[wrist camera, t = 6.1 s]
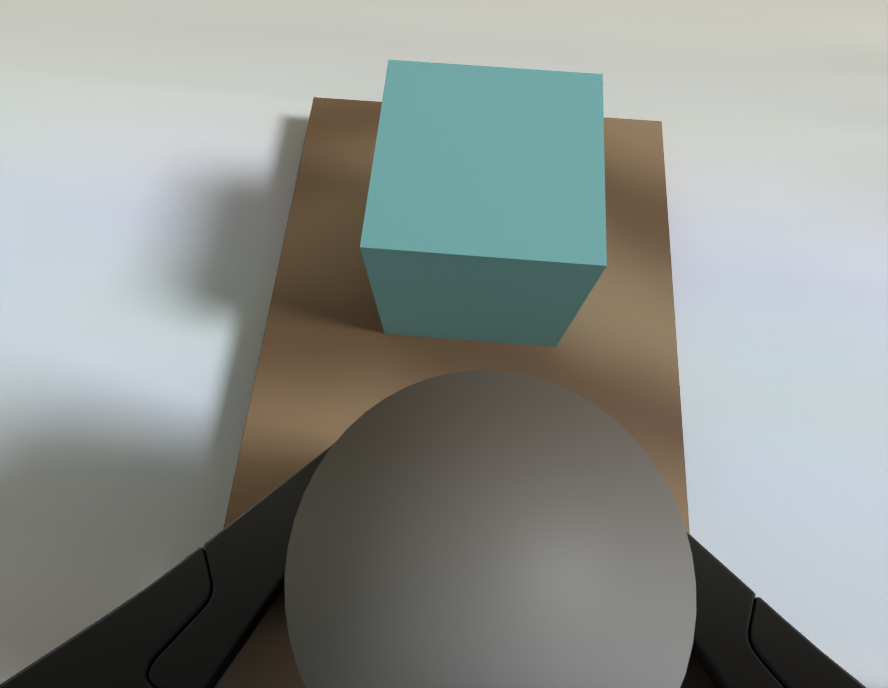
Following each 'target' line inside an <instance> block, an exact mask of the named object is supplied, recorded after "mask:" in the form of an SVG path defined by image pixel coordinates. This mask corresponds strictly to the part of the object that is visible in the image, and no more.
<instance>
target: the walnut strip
mask: <svg viewBox="0 0 888 688" xmlns="http://www.w3.org/2000/svg"><path fill="white" fill-rule="evenodd" d="M381 106H382V102H373V101H359V100H344V99H330V98H316V97H314V99H313V104H312V109H311V113H310V118H309V123H308V128H307V132H306V137H305V142H304V147H303V152H302V156H301V161H300V166H299V171H298V175H297V180H296V185H295V190H294V195H293V199H292V204H291V209H290V214H289V218H288V223H287V228H286V233H285V238H284V242H283V247H282V252H281V257H280V262H279V266H278V271H277V276H276V281H275V285H274V290H273V295H272V300H271V305H270V309H269V314H268V319H267V324H266V328H265V333H264V338H263V343H262V348H261V352H260V357H259V362H258V367H257V371H256V376H255V381H254V386H253V391H252V395H251V400H250V405H249V410H248V414H247V419H246V424H245V429H244V434H243V438H242V443H241V448H240V453H239V457H238V462H237V467H236V472H235V477H234V481H233V486H232V491H231V496H230V501H229V505H228V510H227V515H226V520H225V524H224V528H226V527H227V526H228V525H230V524H231V523H232V522H233V521H235V520H236V519H237V518H239V517H240V516H241V515H243V514H244V513H245V512H246V511H248V510H249V509H250V508H252V507H253V506H254V505H255V504H257V503H258V502H259V501H261V500H262V499H263V498H264V497H266V496H267V495H268V494H270V493H271V492H272V491H273V490H275V489H276V488H277V487H279V486H280V485H281V484H282V483H284V482H285V481H286V480H288V479H289V478H290V477H292V476H293V475H294V474H295V473H297V472H298V471H299V470H301V469H302V468H303V467H304V466H306V465H307V464H308V463H310V462H311V461H312V460H313V459H315V458H316V457H317V456H319V455H320V454H321V453H322V452H324V451H325V450H326V449H328V448H329V447H330V446H331V445H333V446H332V447H331V448H330V449H329V451H328V452H327V454H326V455H325V457H324V458H323V460H322V461H321V463H320V464H319V466H318V467H317V469H316V470H315V472H314V474H313V476H312V478H311V480H310V482H309V484H308V486H307V488H306V490H305V492H304V494H303V497H302V500H301V502H300V505H299V508H298V511H297V513H296V516H295V519H294V523H293V527H292V531H291V536H290V540H289V544H288V549H287V558H286V568H285V611H286V618H287V626H288V633H289V639H290V642H291V646H292V650H293V654H294V658H295V661H296V665H297V668H298V670H299V673H300V675H301V678H302V680H303V683H304V685H305V688H680V687H681V684H682V682H683V679H684V677H685V674H686V670H687V666H688V662H689V658H690V654H691V650H692V646H693V639H694V630H695V622H696V580H695V572H694V564H693V557H692V552H691V548H690V544H689V540H688V536H687V532H688V533H689V518H688V504H687V489H686V474H685V460H684V445H683V430H682V415H681V401H680V386H679V371H678V357H677V342H676V327H675V313H674V298H673V283H672V269H671V254H670V239H669V225H668V210H667V195H666V180H665V166H664V151H663V136H662V122H661V121H647V120H632V119H618V118H604V117H603V118H604V162H605V207H606V251H607V266H606V268H605V270H604V271H603V273H602V274H601V276H600V278H599V279H598V281H597V282H596V284H595V286H594V287H593V289H592V290H591V292H590V294H589V295H588V297H587V298H586V300H585V302H584V303H583V305H582V306H581V308H580V310H579V311H578V313H577V314H576V316H575V318H574V319H573V321H572V322H571V324H570V326H569V327H568V329H567V330H566V332H565V334H564V335H563V337H562V338H561V340H560V341H559V343H558V345H557V346H556V347H546V346H534V345H521V344H508V343H496V342H483V341H471V340H458V339H445V338H433V337H420V336H408V335H395V334H385V333H384V330H383V326H382V323H381V319H380V316H379V312H378V309H377V305H376V302H375V298H374V295H373V292H372V288H371V285H370V281H369V278H368V274H367V271H366V267H365V264H364V260H363V257H362V253H361V250H360V242H361V236H362V230H363V223H364V217H365V210H366V204H367V197H368V191H369V184H370V178H371V171H372V165H373V158H374V152H375V145H376V139H377V132H378V126H379V119H380V113H381ZM689 534H690V533H689Z"/></svg>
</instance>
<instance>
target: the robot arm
mask: <svg viewBox="0 0 888 688" xmlns="http://www.w3.org/2000/svg"><path fill="white" fill-rule="evenodd" d="M332 446H333V445H331V446H330V447H329V448H328V449H326V450H325V451H324V452H322V453H321V454H320V455H319V456H317V457H316V458H315V459H313V460H312V461H311V462H310V463H308V464H307V465H306V466H304V467H303V468H302V469H301V470H299V471H298V472H297V473H295V474H294V475H293V476H292V477H290V478H289V479H288V480H286V481H285V482H284V483H282V484H281V485H280V486H279V487H277V488H276V489H275V490H273V491H272V492H271V493H270V494H268V495H267V496H266V497H264V498H263V499H262V500H261V501H259V502H258V503H257V504H255V505H254V506H253V507H252V508H250V509H249V510H248V511H246V512H245V513H244V514H243V515H241V516H240V517H239V518H237V519H236V520H235V521H233V522H232V523H231V524H230V525H228V526H227V527H226V528H224V529H223V530H222V531H221V532H219V533H218V534H217V535H215V536H214V537H213V538H212V539H210V540H209V541H208V542H206V543H205V544H204V549H203V548H198V549H197V550H196V551H195V552H193V553H192V554H191V555H189V556H188V557H187V558H185V559H184V560H183V561H182V562H180V563H179V564H178V565H176V566H175V567H174V568H172V569H171V570H170V571H168V572H167V573H166V574H164V575H163V576H161V577H160V578H159V579H157V580H156V581H155V582H153V583H152V584H151V585H149V586H148V587H147V588H145V589H144V590H142V591H141V592H140V593H138V594H137V595H135V596H134V597H132V598H131V599H129V600H128V601H126V602H125V603H123V604H122V605H120V606H119V607H117V608H116V609H114V610H113V611H112V612H110V613H109V614H107V615H106V616H104V617H103V618H101V619H100V620H98V621H97V622H95V623H94V624H92V625H90V626H89V627H87V628H86V629H84V630H83V631H81V632H80V633H78V634H77V635H75V636H74V637H72V638H71V639H69V640H67V641H66V642H64V643H63V644H61V645H60V646H58V647H57V648H55V649H54V650H52V651H51V652H49V653H48V654H46V655H45V656H43V657H41V658H40V659H38V660H37V661H35V662H34V663H32V664H31V665H29V666H28V667H26V668H25V669H23V670H22V671H20V672H18V673H17V674H15V675H14V676H12V677H11V678H9V679H8V680H6V681H5V682H3V683H2V684H0V688H305V685H304V683H303V680H302V678H301V675H300V673H299V670H298V668H297V665H296V661H295V658H294V654H293V650H292V646H291V642H290V639H289V633H288V626H287V618H286V611H285V568H286V558H287V549H288V544H289V540H290V536H291V531H292V527H293V523H294V519H295V516H296V513H297V511H298V508H299V505H300V502H301V500H302V497H303V494H304V492H305V490H306V488H307V486H308V484H309V482H310V480H311V478H312V476H313V474H314V472H315V470H316V469H317V467H318V466H319V464H320V463H321V461H322V460H323V458H324V457H325V455H326V454H327V452H328V451H329V449H330V448H331V447H332ZM687 536H688V540H689V544H690V548H691V552H692V557H693V564H694V572H695V580H696V622H695V630H694V639H693V646H692V650H691V654H690V658H689V662H688V666H687V670H686V674H685V677H684V679H683V682H682V684H681V687H680V688H866V687H865V686H864V685H862V684H861V683H860V682H859V681H858V680H856V679H855V678H854V677H853V676H851V675H850V674H849V673H848V672H846V671H845V670H844V669H843V668H841V667H840V666H839V665H838V664H837V663H835V662H834V661H833V660H832V659H830V658H829V657H828V656H827V655H825V654H824V653H823V652H822V651H821V650H819V649H818V648H817V647H816V646H815V645H814V644H813V643H811V642H810V641H809V640H808V639H807V638H806V637H804V636H803V635H802V634H801V633H800V632H799V631H797V630H796V629H795V628H794V627H793V626H792V625H791V624H789V623H788V622H787V621H786V620H785V619H784V618H782V617H781V616H780V615H779V614H778V613H777V612H776V611H775V610H774V609H772V608H771V607H770V606H769V605H768V604H767V603H766V602H765V601H764V600H762V599H761V598H760V597H756V598H755V593H754V592H753V591H752V590H751V589H750V588H749V587H748V586H747V585H745V584H744V583H743V582H742V581H741V580H740V579H739V578H738V577H737V576H735V575H734V574H733V573H732V572H731V571H730V570H729V569H728V568H727V567H725V566H724V565H723V564H722V563H721V562H720V561H719V560H718V559H717V558H715V557H714V556H713V555H712V554H711V553H710V552H709V551H708V550H707V549H705V548H704V547H703V546H702V545H701V544H700V543H699V542H698V541H696V540H695V539H694V538H693V537H692V536H691V535H690V534H689V533H688V532H687Z"/></svg>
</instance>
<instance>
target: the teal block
mask: <svg viewBox="0 0 888 688" xmlns="http://www.w3.org/2000/svg"><path fill="white" fill-rule="evenodd" d="M360 250H361V253H362V257H363V260H364V264H365V267H366V271H367V274H368V278H369V281H370V285H371V288H372V292H373V295H374V298H375V302H376V305H377V309H378V312H379V316H380V319H381V323H382V326H383V330H384V333H385V334H395V335H408V336H420V337H433V338H445V339H458V340H471V341H483V342H496V343H508V344H521V345H534V346H546V347H556V346H557V345H558V343H559V341H560V340H561V338H562V337H563V335H564V334H565V332H566V330H567V329H568V327H569V326H570V324H571V322H572V321H573V319H574V318H575V316H576V314H577V313H578V311H579V310H580V308H581V306H582V305H583V303H584V302H585V300H586V298H587V297H588V295H589V294H590V292H591V290H592V289H593V287H594V286H595V284H596V282H597V281H598V279H599V278H600V276H601V274H602V273H603V271H604V270H605V268H606V266H607V251H606V207H605V162H604V118H603V74H591V73H576V72H561V71H546V70H532V69H517V68H502V67H487V66H472V65H458V64H443V63H428V62H413V61H399V60H389V61H388V67H387V74H386V80H385V87H384V93H383V100H382V106H381V113H380V119H379V126H378V132H377V139H376V145H375V152H374V158H373V165H372V171H371V178H370V184H369V191H368V197H367V204H366V210H365V217H364V223H363V230H362V236H361V242H360Z"/></svg>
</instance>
